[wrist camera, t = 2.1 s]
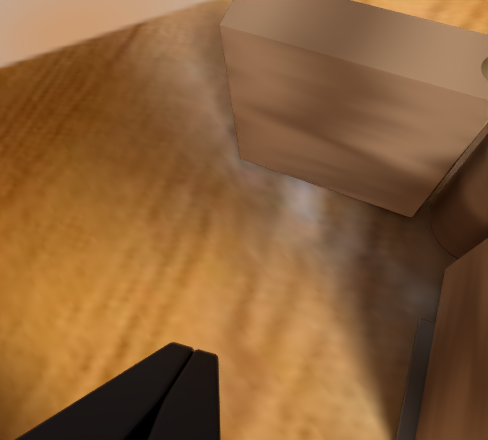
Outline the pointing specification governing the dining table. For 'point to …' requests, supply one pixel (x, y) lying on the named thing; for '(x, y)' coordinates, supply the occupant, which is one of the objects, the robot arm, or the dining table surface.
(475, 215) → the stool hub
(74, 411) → the robot arm
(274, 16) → the hinged leg
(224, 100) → the dining table surface
